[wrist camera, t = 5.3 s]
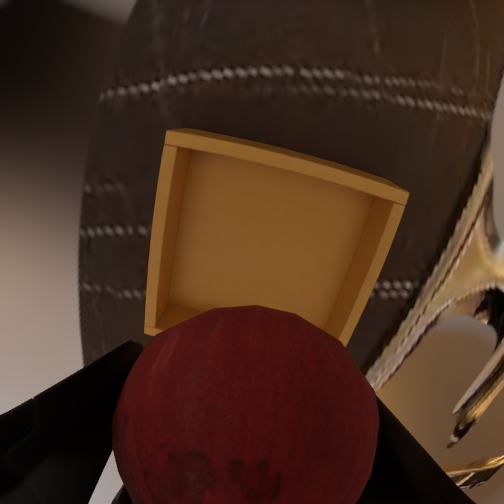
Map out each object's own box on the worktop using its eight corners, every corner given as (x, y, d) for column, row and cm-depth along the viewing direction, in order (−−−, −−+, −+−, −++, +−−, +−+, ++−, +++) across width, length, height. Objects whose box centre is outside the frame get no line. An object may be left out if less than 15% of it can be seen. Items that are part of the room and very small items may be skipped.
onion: (142, 349, 10) (47, 554, 3) (218, 211, 8) (43, 556, 1) (280, 414, 11) (273, 609, 4) (384, 312, 9) (477, 565, 2)
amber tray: (325, 341, 19) (331, 375, 16) (160, 303, 18) (144, 333, 16) (387, 179, 15) (410, 192, 12) (186, 127, 14) (166, 129, 12)
